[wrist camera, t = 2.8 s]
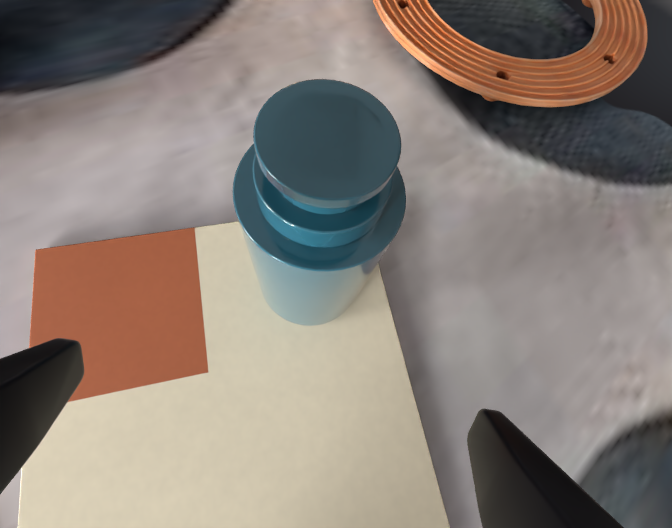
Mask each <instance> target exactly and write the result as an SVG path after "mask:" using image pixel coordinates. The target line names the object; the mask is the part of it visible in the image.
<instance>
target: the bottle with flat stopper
mask: <svg viewBox="0 0 672 528" xmlns="http://www.w3.org/2000/svg"><path fill="white" fill-rule="evenodd" d="M253 138H254V144H253V145H252V146H251V147H250V148H249V150H248V151H247V152H246V153H245V155H244V156H243V158H242V160H241V161H240V163H239V166H238V168H237V170H236V174H235V178H234V182H233V202H234V207H235V212H236V215H237V218H238V221H239V224H240V227H241V230H242V233H243V236H244V239H245V242H246V246H247V249H248V252H249V255H250V258H251V261H252V264H253V267H254V270H255V273H256V276H257V280H258V283H259V286H260V289H261V292H262V294H263V297H264V299H265V301H266V302H267V304H268V305H269V307H270V308H271V309H272V310H273V311H274V312H275V313H276V314H277V315H279V316H280V317H282V318H283V319H285V320H287V321H289V322H292V323H295V324H299V325H305V326H314V325H321V324H325V323H328V322H330V321H333V320H334V319H336V318H338V317H339V316H341V315H342V314H343V313H344V312H345V311H346V310H347V309H348V308H349V307H350V305H351V304H352V303H353V301H354V300H355V298H356V296H357V295H358V293H359V292H360V290H361V289H362V287H363V286H364V284H365V282H366V281H367V279H368V278H369V276H370V275H371V273H372V272H373V270H374V268H375V267H376V265H377V264H378V262H379V261H380V259H381V258H382V256H383V254H384V253H385V251H386V250H387V248H388V247H389V245H390V244H391V242H392V240H393V239H394V237H395V236H396V234H397V232H398V230H399V228H400V226H401V224H402V221H403V218H404V214H405V208H406V193H405V186H404V182H403V179H402V176H401V174H400V171H399V169H398V167H397V164H398V162H399V158H400V154H401V138H400V133H399V129H398V126H397V124H396V122H395V120H394V118H393V116H392V115H391V113H390V112H389V110H388V109H387V108H386V107H385V106H384V105H383V104H382V103H381V102H380V101H379V100H378V99H377V98H375V97H374V96H373V95H371V94H370V93H368V92H367V91H365V90H363V89H361V88H359V87H357V86H354V85H352V84H349V83H345V82H341V81H336V80H327V79H314V80H306V81H302V82H297V83H295V84H292V85H289V86H287V87H285V88H283V89H281V90H280V91H278V92H277V93H275V94H274V95H273V96H272V97H271V98H269V99H268V101H267V102H266V103H265V104H264V105H263V107H262V108H261V110H260V112H259V114H258V116H257V118H256V121H255V125H254V133H253Z"/></svg>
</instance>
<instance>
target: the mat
mask: <svg viewBox="0 0 672 528" xmlns="http://www.w3.org/2000/svg"><path fill="white" fill-rule="evenodd" d="M56 338H65V339H71V340H76V341H78V342H79V343H80V344H81V348H82V355H83V362H84V376H83V378H82V380H81V382H80V384H79V385H78V387H77V388H76V390H75V391H74V393H73V394H72V396H71V397H70V399H69V400H68V402H67V404H66V405H65V407H64V408H63V410H62V411H61V413H60V414H59V416H58V417H57V419H56V420H55V422H54V423H53V425H52V426H51V428H50V429H49V431H48V432H47V434H46V435H45V437H44V438H43V440H42V441H41V443H40V444H39V445H38V447H37V448H36V450H35V451H34V452H33V453H32V455H31V456H30V457H29V459H28V460H27V461H26V463H25V464H24V465H23V466H22V472H21V487H20V503H19V519H18V528H450V526H449V522H448V518H447V515H446V511H445V507H444V504H443V500H442V496H441V493H440V489H439V485H438V482H437V478H436V474H435V471H434V467H433V463H432V460H431V456H430V452H429V449H428V445H427V441H426V438H425V434H424V430H423V427H422V423H421V419H420V416H419V412H418V408H417V405H416V401H415V397H414V394H413V390H412V386H411V383H410V379H409V375H408V372H407V368H406V364H405V361H404V357H403V353H402V350H401V346H400V342H399V339H398V335H397V331H396V328H395V324H394V320H393V317H392V313H391V309H390V306H389V302H388V298H387V295H386V291H385V287H384V284H383V280H382V276H381V273H380V269H379V265H378V264H377V265H376V267H375V268H374V270H373V272H372V273H371V275H370V276H369V278H368V279H367V281H366V282H365V284H364V286H363V287H362V289H361V290H360V292H359V293H358V295H357V296H356V298H355V300H354V301H353V303H352V304H351V305H350V307H349V308H348V309H347V310H346V311H345V312H344V313H343V314H342V315H341V316H339V317H338V318H336V319H334V320H333V321H330V322H328V323H325V324H321V325H314V326H305V325H299V324H295V323H292V322H289V321H287V320H285V319H283V318H282V317H280V316H279V315H277V314H276V313H275V312H274V311H273V310H272V309H271V308H270V307H269V305H268V304H267V302H266V301H265V299H264V297H263V294H262V292H261V289H260V286H259V283H258V280H257V276H256V273H255V270H254V267H253V264H252V261H251V258H250V255H249V252H248V249H247V246H246V242H245V239H244V236H243V233H242V230H241V227H240V224H239V221H238V222H231V223H223V224H216V225H209V226H202V227H195V228H187V229H180V230H173V231H166V232H159V233H152V234H144V235H137V236H130V237H123V238H116V239H109V240H102V241H94V242H87V243H80V244H73V245H66V246H59V247H51V248H44V249H37V250H36V251H35V267H34V282H33V298H32V314H31V329H30V345H29V348H31V347H34V346H36V345H39V344H42V343H45V342H47V341H50V340H53V339H56Z"/></svg>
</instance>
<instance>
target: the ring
mask: <svg viewBox="0 0 672 528" xmlns="http://www.w3.org/2000/svg"><path fill="white" fill-rule="evenodd" d="M373 2H374V5H375V8H376V10H377V12H378V14H379V16H380V18H381V19H382V21H383V23H384V24H385V26H386V27H387V29H388V30H389V31H390V33H391V34H392V35H393V36H394V37H395V38H396V40H397V41H398V42H399V43H400V44H401V45H402V46H403V47H404V48H405V49H406V50H407V51H408V52H409V53H410V54H411V55H413V56H414V57H415V58H416V59H418V60H419V61H420V62H421V63H423V64H424V65H425V66H427V67H428V68H430V69H431V70H433V71H434V72H436V73H437V74H439V75H441V76H442V77H444V78H445V79H447V80H449V81H451V82H453V83H455V84H457V85H459V86H461V87H463V88H465V89H468V90H470V91H472V92H475V93H478V94H481V95H482V97H483V98H484V99H486V100H488V101H492V102H493V101H496V100H500V101H504V102H508V103H513V104H518V105H525V106H534V107H564V106H572V105H577V104H582V103H585V102H589V101H592V100H595V99H597V98H600V97H602V96H604V95H606V94H608V93H610V92H611V91H613V90H614V89H616V88H617V87H618V86H619V85H621V84H622V83H623V82H624V81H625V80H627V79H628V78H629V77H630V76H631V75H632V73H633V72H634V71H635V70H636V69H637V67H638V66H639V64H640V63H641V61H642V59H643V56H644V53H645V50H646V45H647V24H646V18H645V15H644V12H643V9H642V7H641V4H640V2H639V0H582V2H583V4H584V5H585V6H587V7H590V8H593V11H594V15H595V29H594V33H593V36H592V38H591V40H590V42H589V43H588V44H587V45H586V46H585V47H584V48H582V49H581V50H579V51H577V52H575V53H573V54H570V55H568V56H564V57H560V58H554V59H525V58H518V57H513V56H509V55H505V54H501V53H498V52H495V51H492V50H490V49H487V48H485V47H482V46H480V45H478V44H476V43H474V42H472V41H471V40H469V39H467V38H465V37H464V36H462V35H461V34H459V33H458V32H457V31H455V30H454V29H453V28H451V27H450V26H449V25H448V24H447V23H445V22H444V21H443V20H442V19H441V18H440V17H439V16H438V14H437V13H436V12H435V11H434V9H433V8H432V7H431V5H430V4H429V2H428V0H373Z"/></svg>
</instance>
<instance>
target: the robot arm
mask: <svg viewBox="0 0 672 528" xmlns="http://www.w3.org/2000/svg"><path fill="white" fill-rule="evenodd" d="M83 376H84V362H83V355H82V348H81V344H80V343H79V342H78V341H76V340H71V339H65V338H56V339H53V340H50V341H47V342H45V343H42V344H39V345H36V346H34V347H31V348H28V349H26V350H23V351H20V352H18V353H15V354H12V355H9V356H7V357H4V358H1V359H0V494H1V493H2V491H3V490H4V489H5V488H6V486H7V485H8V484H9V483H10V481H11V480H12V479H13V478H14V476H15V475H16V474H17V473H18V471H19V470H20V469H21V468H22V466H23V465H24V464H25V463H26V461H27V460H28V459H29V457H30V456H31V455H32V453H33V452H34V451H35V450H36V448H37V447H38V445H39V444H40V443H41V441H42V440H43V438H44V437H45V435H46V434H47V432H48V431H49V429H50V428H51V426H52V425H53V423H54V422H55V420H56V419H57V417H58V416H59V414H60V413H61V411H62V410H63V408H64V407H65V405H66V404H67V402H68V400H69V399H70V397H71V396H72V394H73V393H74V391H75V390H76V388H77V387H78V385H79V384H80V382H81V380H82V378H83ZM467 443H468V450H469V456H470V462H471V468H472V473H473V479H474V485H475V491H476V497H477V503H478V508H479V513H480V518H481V522H482V526H483V528H623V527H622V526H621V525H620V524H619V523H618V522H617V521H616V520H615V519H614V518H613V517H612V516H611V515H610V514H609V513H608V512H606V511H605V510H604V509H603V508H602V507H601V506H600V505H599V504H598V503H597V502H596V501H595V500H594V499H593V498H592V497H591V496H589V495H588V494H587V493H586V492H585V491H584V490H583V489H582V488H581V487H580V486H579V485H578V484H577V483H576V482H575V481H574V480H572V479H571V478H570V477H569V476H568V475H567V474H566V473H565V472H564V471H563V470H562V469H561V468H560V467H559V466H558V465H557V464H555V463H554V462H553V461H552V460H551V459H550V458H549V457H548V456H547V455H546V454H545V453H544V452H543V451H542V450H541V449H540V448H538V447H537V446H536V445H535V444H534V443H533V442H532V441H531V440H530V439H529V438H528V437H527V436H526V435H525V434H524V433H523V432H521V431H520V430H519V429H518V428H517V427H516V426H515V425H514V424H513V423H512V422H511V421H510V420H509V419H508V418H507V417H506V416H504V415H503V414H502V413H501V412H499V411H496V410H490V409H481V410H480V411H479V412H478V414H477V416H476V418H475V420H474V422H473V424H472V426H471V428H470V430H469V433H468V438H467Z"/></svg>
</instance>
